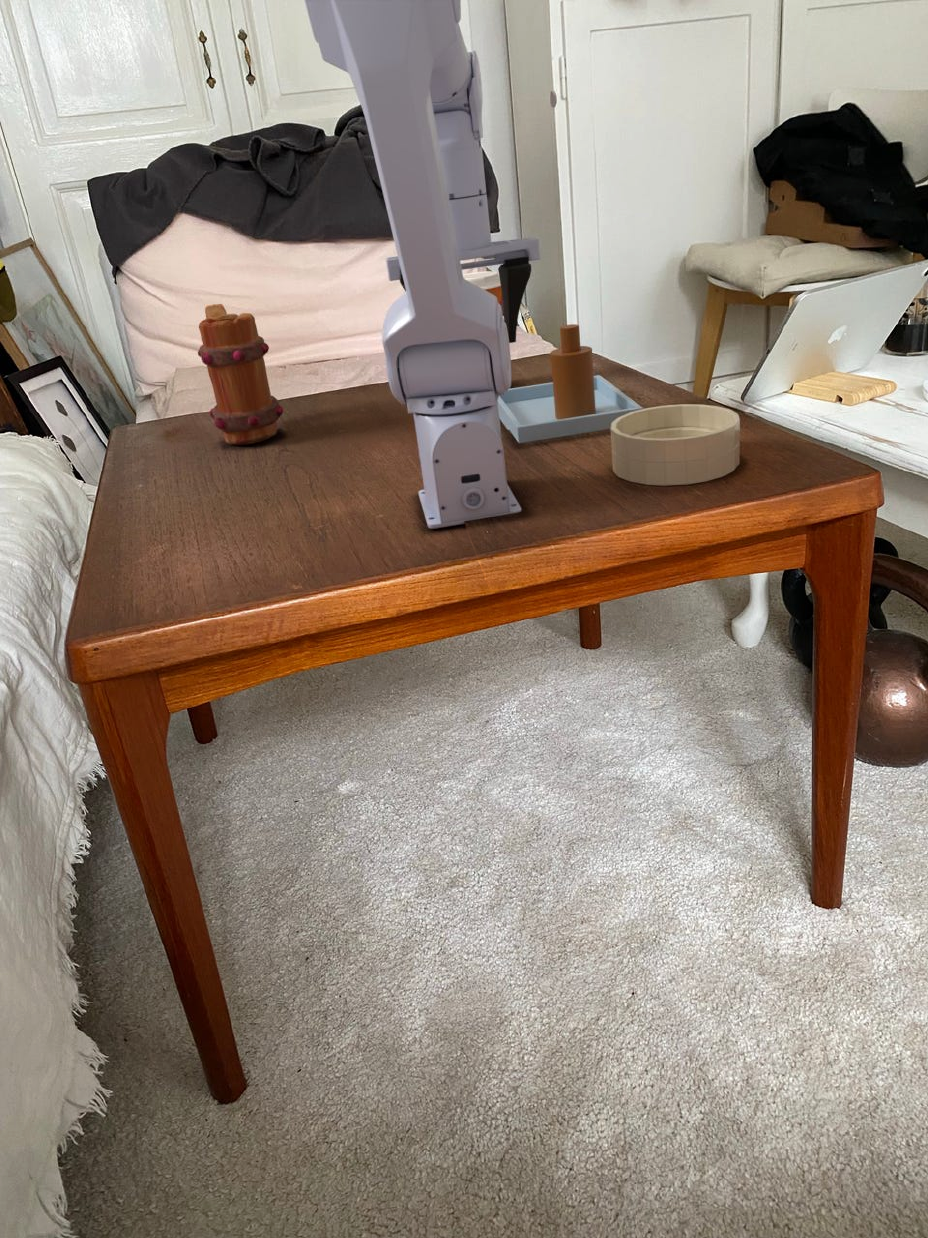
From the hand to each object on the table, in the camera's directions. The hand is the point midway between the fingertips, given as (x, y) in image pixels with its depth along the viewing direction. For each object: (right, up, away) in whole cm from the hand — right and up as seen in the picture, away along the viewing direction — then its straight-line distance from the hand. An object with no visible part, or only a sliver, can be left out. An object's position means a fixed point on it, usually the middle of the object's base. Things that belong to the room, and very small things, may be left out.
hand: (472, 346), depth 94 cm
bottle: (+11, -5, +10) cm, 16 cm away
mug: (-27, -5, +22) cm, 35 cm away
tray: (+10, -5, +11) cm, 16 cm away
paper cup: (+2, +2, +28) cm, 28 cm away
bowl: (+18, -14, -9) cm, 24 cm away
